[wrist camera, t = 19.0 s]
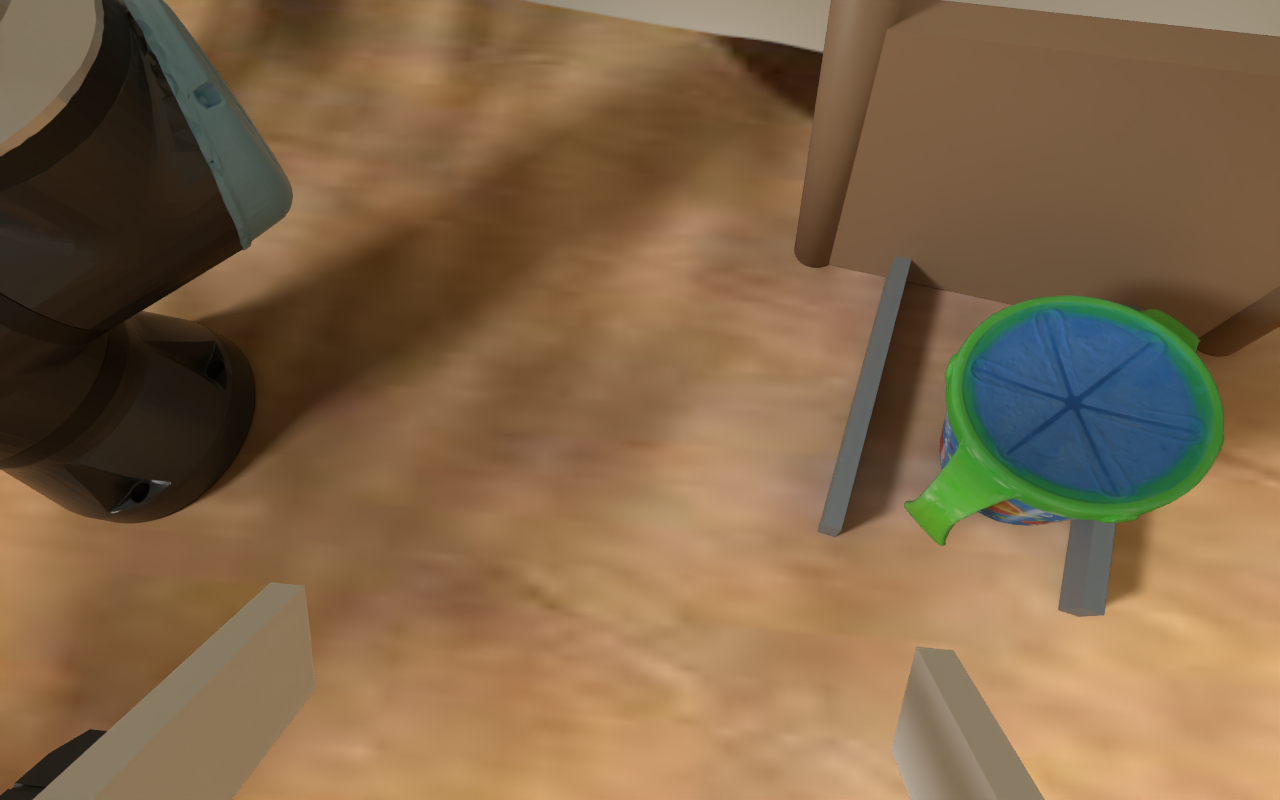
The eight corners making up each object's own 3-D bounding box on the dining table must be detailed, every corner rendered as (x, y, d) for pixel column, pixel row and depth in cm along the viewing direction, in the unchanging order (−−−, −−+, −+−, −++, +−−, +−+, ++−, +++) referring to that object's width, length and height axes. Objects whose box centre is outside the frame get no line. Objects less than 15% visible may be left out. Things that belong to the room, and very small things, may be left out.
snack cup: (1053, 329, 39) (1137, 227, 30) (1197, 468, 34) (1349, 398, 25) (838, 456, 39) (855, 393, 29) (953, 613, 34) (1016, 596, 25)
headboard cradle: (712, 497, 38) (685, 340, 18) (800, 227, 44) (854, -120, 24) (1219, 662, 32) (2087, 710, 11) (1243, 318, 38) (1843, -58, 17)
